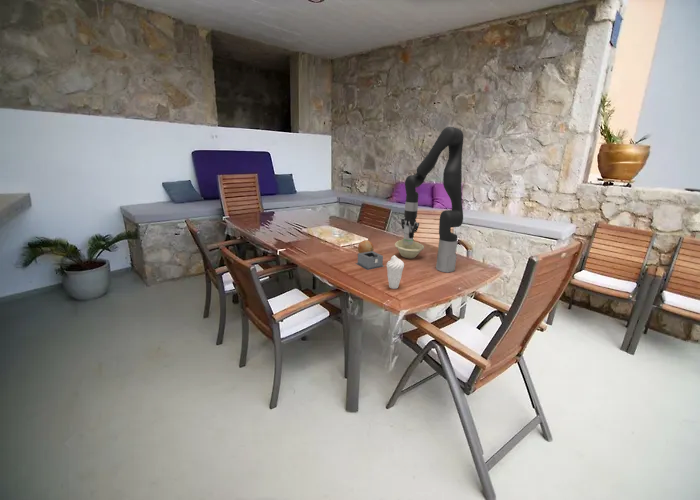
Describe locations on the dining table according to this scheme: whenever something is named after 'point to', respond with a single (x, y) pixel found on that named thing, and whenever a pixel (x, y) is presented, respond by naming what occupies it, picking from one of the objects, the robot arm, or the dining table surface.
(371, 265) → the stand
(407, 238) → the translucent grey cylinder
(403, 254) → the bowl
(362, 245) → the onion
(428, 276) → the dining table surface
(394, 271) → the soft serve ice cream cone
